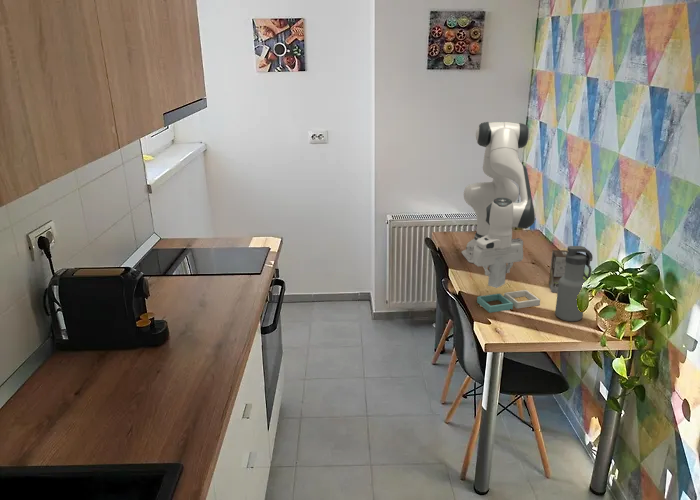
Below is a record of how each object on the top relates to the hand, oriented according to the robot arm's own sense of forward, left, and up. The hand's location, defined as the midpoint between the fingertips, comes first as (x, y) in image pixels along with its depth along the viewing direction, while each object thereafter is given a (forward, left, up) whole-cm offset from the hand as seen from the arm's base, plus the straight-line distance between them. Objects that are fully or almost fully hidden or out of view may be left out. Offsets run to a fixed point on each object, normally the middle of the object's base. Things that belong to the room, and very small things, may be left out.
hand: (497, 273), depth 212 cm
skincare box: (0, 0, -5) cm, 5 cm away
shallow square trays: (0, +6, -14) cm, 15 cm away
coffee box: (-7, +34, -14) cm, 38 cm away
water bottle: (+17, +22, -14) cm, 31 cm away
